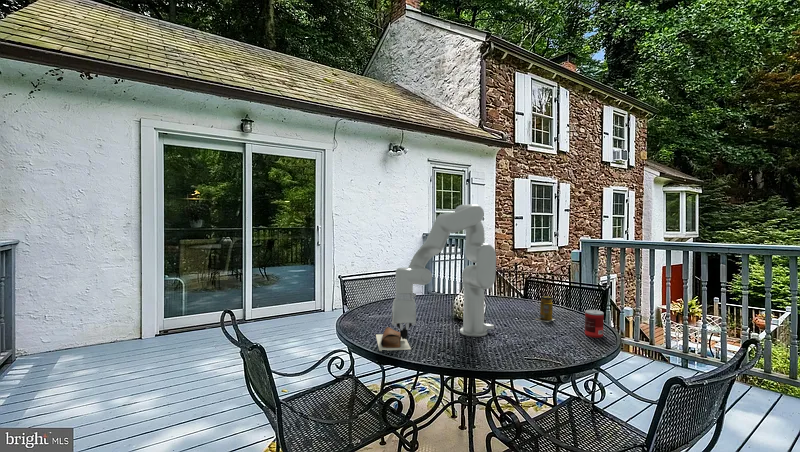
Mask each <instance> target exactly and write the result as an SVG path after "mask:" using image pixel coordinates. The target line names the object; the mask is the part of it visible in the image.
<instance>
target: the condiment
mask: <svg viewBox="0 0 800 452" xmlns="http://www.w3.org/2000/svg"><path fill="white" fill-rule="evenodd" d="M540 299H541V300H540V303H539V304H540V307H539V308H540V310H539V317H537V318H535V320H537V321H540V322H544V323H550V322H552V321H554V320H556V318H553V308H554V307H553V305H554V303H553V297H552V296H549V295H548V296H547V295H542V296H541V298H540Z"/></svg>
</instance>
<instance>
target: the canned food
mask: <svg viewBox="0 0 800 452" xmlns="http://www.w3.org/2000/svg"><path fill="white" fill-rule="evenodd" d="M604 314H605V313H604V312H603V311H601V310H598V309H586V310H585V311H584V315H585V316H584V334H585V336H587V337H590V338H595V339H599V338H603V336H604V320H605V319H604V318H605V316H604Z"/></svg>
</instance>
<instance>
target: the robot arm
mask: <svg viewBox="0 0 800 452" xmlns="http://www.w3.org/2000/svg"><path fill="white" fill-rule="evenodd" d="M484 216H485V212H484V209H483V207H482V206H480V205H479V204H474V203H473V204H460V205H458V206H456V207H455V208H454V212H451V213H450V212H445V213H440V214H438V215H437V216H436V218H435V220H434V222H433V224H432V227H431V229H430V231H429V233H428V236H427V237H426V240H425V242H424V243H423V244H422V245H421V246H420V247H419V249H418V250H417V251H416V253H415V254H414V255H413V257H412V259H411V260H410V263H409V265H408V267H398V268H396V270H395V298H394V299H393V301H392V306H391V307H392V308H391V320H392V321H391V326H394V327H397V328H398V329H399V332H400V336H401V337H402V339H407V338H408V331H409V329H410V328H411V327H412V326H415V325H417V312H416V311H417V310H416V309H417V308H416V302H415V299H414V297H417V293H414V285H416V286H417V285H418V286H426V285H428V284H430V283H431V281H432V279H433V274H432V271H430V269H428V268H426V266H427V264H428V262H429V261H430V260H431V259H432V258H433V257H435V256H436V255H438V254H440V253H441V252H443V251H444V248H445V245H446V244H447V242H448V239H449V237H450V234H451V233H452V234H453V233H458V232H462V231H465V257H466V259H467V260H468V261H470V262H471V263H475V264H470V265H467V266H465V268H464V269H463V271H462V273H461V280H462V286H463V306H462V307H463V316H462V317H463V318H462V320H463V322H462V324H463V325H462V326H463V327H461V328H460V329H459V333H460V334H461V335H464V336H467V337H474V338H475V337H477V338H478V337H484V336H487V335H488V330H494V329H495V325H494V324H490V323H485V290H489V289H491V288H492V287H493V286H494V283H495V281H496V275H497V274H496V271H497V270H496V269H497V254H496V249H495V248H494V247H493V245H491V244H490V243H488V242H487V243H486V242H485V239H486V238H485V227H484V225H483V224H484V223H483V222H482V220H483V219H484ZM403 324H405V325H403Z"/></svg>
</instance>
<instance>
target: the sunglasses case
mask: <svg viewBox="0 0 800 452" xmlns="http://www.w3.org/2000/svg"><path fill="white" fill-rule="evenodd" d="M400 341H401V336H400V331H397V330H394V328H392V327H389V326H386V327H385V329H384V330H383V337H382V341H381V345H382V347H384V348H399V347H401V345H400Z"/></svg>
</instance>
